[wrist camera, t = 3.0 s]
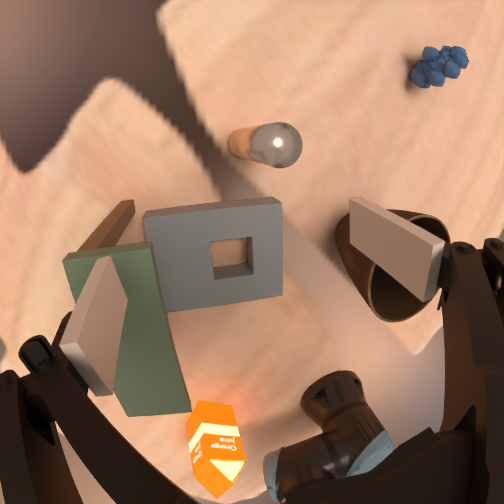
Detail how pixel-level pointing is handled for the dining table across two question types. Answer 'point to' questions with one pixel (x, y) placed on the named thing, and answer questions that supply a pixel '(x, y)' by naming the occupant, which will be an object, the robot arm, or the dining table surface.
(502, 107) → the dining table surface
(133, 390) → the awning
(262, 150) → the steel peg
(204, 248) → the socket block
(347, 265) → the plant pot
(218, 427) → the orange juice
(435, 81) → the grapes
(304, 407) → the robot arm
